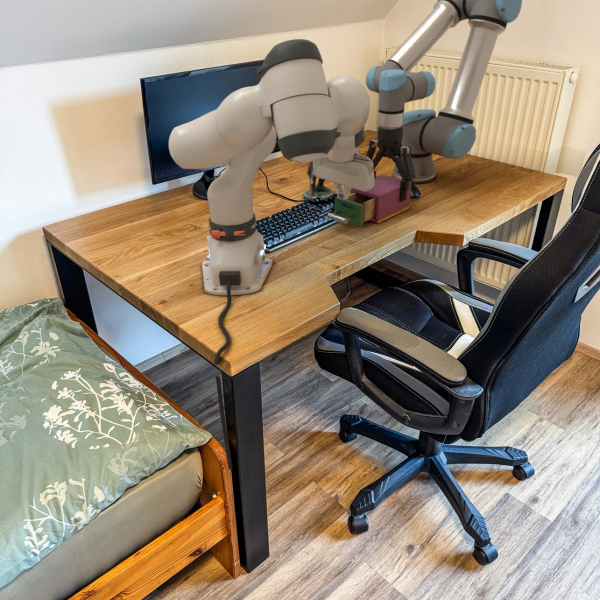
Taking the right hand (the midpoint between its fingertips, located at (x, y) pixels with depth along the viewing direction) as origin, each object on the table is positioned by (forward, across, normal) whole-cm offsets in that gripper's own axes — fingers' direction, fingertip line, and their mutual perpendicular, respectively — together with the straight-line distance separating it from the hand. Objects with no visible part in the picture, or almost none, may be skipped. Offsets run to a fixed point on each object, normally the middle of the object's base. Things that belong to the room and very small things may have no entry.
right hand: (386, 195), depth 178 cm
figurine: (+4, +23, +8) cm, 24 cm away
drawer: (+3, 0, +15) cm, 15 cm away
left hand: (-6, 0, +21) cm, 22 cm away
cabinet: (+4, 0, +4) cm, 5 cm away
